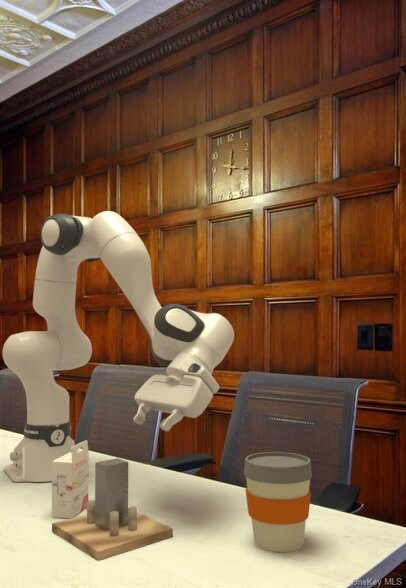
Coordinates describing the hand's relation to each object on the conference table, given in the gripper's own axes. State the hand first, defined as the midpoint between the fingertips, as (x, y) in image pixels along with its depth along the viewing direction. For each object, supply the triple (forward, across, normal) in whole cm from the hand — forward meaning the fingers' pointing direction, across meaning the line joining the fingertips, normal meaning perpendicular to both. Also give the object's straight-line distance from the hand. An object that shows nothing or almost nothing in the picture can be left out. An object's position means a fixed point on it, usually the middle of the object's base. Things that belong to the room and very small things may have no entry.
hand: (149, 425), depth 111 cm
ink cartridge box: (+20, -17, +8) cm, 27 cm away
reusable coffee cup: (+5, +24, +22) cm, 33 cm away
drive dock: (+20, 0, +7) cm, 21 cm away
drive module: (+19, 0, +6) cm, 20 cm away
